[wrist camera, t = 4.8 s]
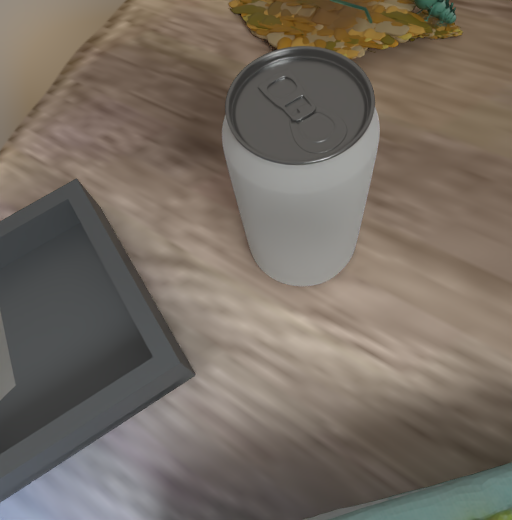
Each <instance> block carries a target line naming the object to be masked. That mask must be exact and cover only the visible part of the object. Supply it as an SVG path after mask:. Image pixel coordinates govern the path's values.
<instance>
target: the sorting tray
mask: <svg viewBox="0 0 512 520" xmlns="http://www.w3.org/2000/svg"><path fill="white" fill-rule="evenodd" d="M0 312H1V317H2V321H3V326H4V331H5V336H6V341H7V346H8V350H9V355H10V360H11V365H12V370H13V375H14V379H15V384H16V386H15V387H14V388H13V389H11V390H10V391H9V392H8V393H7V394H6V395H5V396H4V397H3V398H2V399H1V400H0V502H2V501H3V500H5V499H6V498H8V497H9V496H11V495H12V494H14V493H16V492H17V491H19V490H20V489H22V488H23V487H25V486H26V485H28V484H29V483H31V482H32V481H34V480H36V479H37V478H39V477H40V476H42V475H43V474H45V473H46V472H48V471H49V470H51V469H52V468H54V467H55V466H57V465H59V464H60V463H62V462H63V461H65V460H66V459H68V458H69V457H71V456H72V455H74V454H75V453H77V452H79V451H80V450H82V449H83V448H85V447H86V446H88V445H89V444H91V443H92V442H94V441H95V440H97V439H98V438H100V437H102V436H103V435H105V434H106V433H108V432H109V431H111V430H112V429H114V428H115V427H117V426H118V425H120V424H122V423H123V422H125V421H126V420H128V419H129V418H131V417H132V416H134V415H135V414H137V413H138V412H140V411H142V410H143V409H145V408H146V407H148V406H149V405H151V404H152V403H154V402H155V401H157V400H158V399H160V398H161V397H163V396H165V395H166V394H168V393H169V392H171V391H172V390H174V389H175V388H177V387H178V386H180V385H181V384H183V383H185V382H186V381H188V380H189V379H191V378H192V377H194V376H195V375H196V374H195V372H194V371H193V369H192V367H191V365H190V364H189V362H188V360H187V358H186V357H185V355H184V353H183V351H182V350H181V348H180V346H179V344H178V343H177V341H176V339H175V337H174V336H173V334H172V332H171V330H170V329H169V327H168V325H167V323H166V322H165V320H164V318H163V316H162V315H161V313H160V311H159V309H158V308H157V306H156V304H155V302H154V301H153V299H152V297H151V295H150V294H149V292H148V290H147V288H146V287H145V285H144V283H143V281H142V280H141V278H140V276H139V274H138V273H137V271H136V269H135V267H134V265H133V264H132V262H131V260H130V258H129V257H128V255H127V253H126V251H125V250H124V248H123V246H122V244H121V243H120V241H119V239H118V237H117V236H116V234H115V232H114V230H113V229H112V227H111V225H110V223H109V222H108V220H107V218H106V216H105V215H104V213H103V211H102V209H101V208H100V206H99V205H98V204H97V203H96V201H95V200H94V199H93V198H92V197H91V195H90V194H89V193H88V192H87V190H86V189H85V188H84V187H83V186H82V184H81V183H80V182H79V181H78V179H77V178H76V179H75V180H73V181H71V182H69V183H67V184H66V185H64V186H62V187H60V188H59V189H57V190H55V191H53V192H51V193H50V194H48V195H46V196H44V197H43V198H41V199H39V200H37V201H35V202H34V203H32V204H30V205H28V206H27V207H25V208H23V209H21V210H20V211H18V212H16V213H14V214H12V215H11V216H9V217H7V218H5V219H4V220H2V221H0Z"/></svg>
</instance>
